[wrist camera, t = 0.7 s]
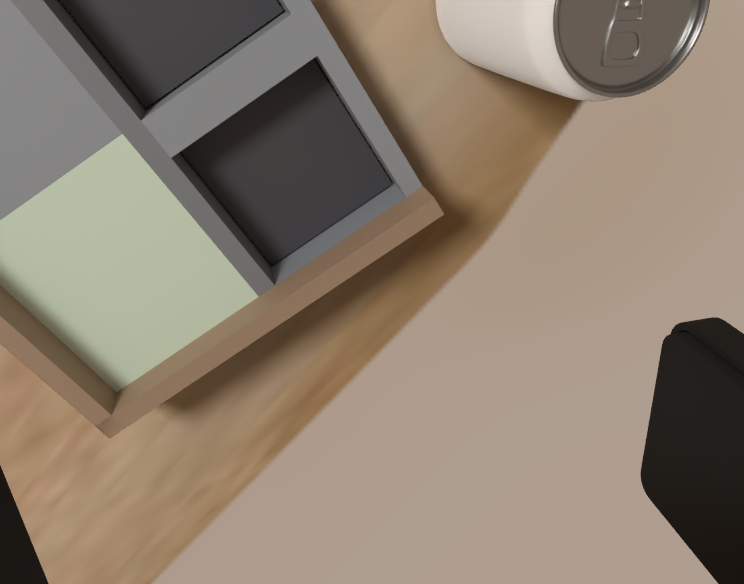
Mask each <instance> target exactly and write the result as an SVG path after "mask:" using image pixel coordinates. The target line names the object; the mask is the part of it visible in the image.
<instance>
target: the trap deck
mask: <svg viewBox="0 0 744 584" xmlns="http://www.w3.org/2000/svg"><path fill="white" fill-rule="evenodd" d="M60 1H61V2H62V4H63V5H64V6H65V7H66V9H67V10H68V11H69V12H70V14H71V15H72V16H73V17H74V19H75V20H76V21H77V22H78V24H79V25H80V26H81V27H82V29H83V30H84V31H85V32H86V34H87V35H88V36H89V37H90V39H91V40H92V41H93V42H94V44H95V45H96V46H97V47H98V49H99V50H100V51H101V52H102V54H103V55H104V56H105V57H106V59H107V60H108V61H109V62H110V64H111V65H112V66H113V67H114V69H115V70H116V71H117V72H118V74H119V75H120V76H121V77H122V79H123V80H124V81H125V82H126V84H127V85H128V86H129V87H130V89H131V90H132V91H133V92H134V94H135V95H136V96H137V97H138V99H139V100H140V101H141V102H142V104H143V105H144V106H145V107H146V108H147V107H148V106H150V105H151V104H153V103H154V102H155V101H157V100H158V99H160V98H161V97H162V96H164V95H165V94H167V93H168V92H170V91H171V90H172V89H174V88H175V87H177V86H178V85H179V84H181V83H182V82H184V81H185V80H186V79H188V78H189V77H191V76H192V75H194V74H195V73H196V72H198V71H199V70H201V69H202V68H203V67H205V66H206V65H208V64H209V63H210V62H212V61H213V60H215V59H216V58H217V57H219V56H220V55H222V54H223V53H225V52H226V51H227V50H229V49H230V48H232V47H233V46H234V45H236V44H237V43H239V42H240V41H241V40H243V39H244V38H246V37H247V36H248V35H250V34H251V33H253V32H254V31H256V30H257V29H258V28H260V27H261V26H263V25H264V24H265V23H267V22H268V21H270V20H271V19H272V18H274V17H275V16H277V15H278V14H280V13H281V12H282V11H283V10H282V8H281V7H280V5H279V3H278V2H277V0H60ZM279 1H280V3H281V4H282V6H283V8H284V9H285V11H286V12H284V13H283V14H281V15H280V16H279V17H277V18H276V19H274V20H273V21H272V22H270V23H269V24H267V25H266V26H265V27H263V28H262V29H260V30H259V31H257V32H256V33H255V34H253V35H252V36H250V37H249V38H248V39H246V40H245V41H243V42H242V43H241V44H239V45H238V46H236V47H235V48H234V49H232V50H231V51H229V52H228V53H226V54H225V55H224V56H222V57H221V58H219V59H218V60H217V61H215V62H214V63H212V64H211V65H210V66H208V67H207V68H205V69H204V70H202V71H201V72H200V73H198V74H197V75H195V76H194V77H193V78H191V79H190V80H188V81H187V82H186V83H184V84H183V85H181V86H180V87H178V88H177V89H176V90H174V91H173V92H171V93H170V94H169V95H167V96H166V97H164V98H163V99H162V100H160V101H159V102H157V103H156V104H155V105H153V106H152V107H150V108H149V109H147V110H145V108H144V107H143V106H142V105H141V103H140V102H139V101H138V100H137V98H136V97H135V96H134V95H133V93H132V92H131V91H130V90H129V88H128V87H127V86H126V85H125V83H124V82H123V81H122V80H121V78H120V77H119V76H118V75H117V73H116V72H115V71H114V70H113V68H112V67H111V66H110V65H109V63H108V62H107V61H106V60H105V58H104V57H103V56H102V55H101V53H100V52H99V51H98V50H97V48H96V47H95V46H94V45H93V43H92V42H91V41H90V40H89V38H88V37H87V36H86V35H85V33H84V32H83V31H82V30H81V28H80V27H79V26H78V25H77V23H76V22H75V21H74V20H73V18H72V17H71V16H70V15H69V13H68V12H67V11H66V10H65V8H64V7H63V6H62V5H61V3H60V2H59V1H58V0H0V344H1V345H2V346H4V347H5V348H6V349H7V350H8V351H9V352H10V353H12V354H13V355H14V356H15V357H16V358H17V359H19V360H20V361H21V362H22V363H23V364H24V365H25V366H27V367H28V368H29V369H30V370H31V371H32V372H33V373H35V374H36V375H37V376H38V377H39V378H40V379H42V380H43V381H44V382H45V383H46V384H47V385H48V386H50V387H51V388H52V389H53V390H54V391H55V392H57V393H58V394H59V395H60V396H61V397H62V398H63V399H65V400H66V401H67V402H68V403H69V404H70V405H71V406H73V407H74V408H75V409H76V410H77V411H78V412H80V413H81V414H82V415H83V416H84V417H85V418H86V419H88V420H89V421H90V422H91V423H92V424H93V425H94V426H96V427H97V428H98V429H99V430H100V431H101V432H103V433H104V434H105V435H106V436H107V437H108V438H111V437H112V436H114V435H115V434H117V433H118V432H120V431H121V430H123V429H124V428H126V427H127V426H129V425H130V424H132V423H133V422H135V421H136V420H138V419H139V418H141V417H142V416H144V415H145V414H147V413H148V412H150V411H151V410H153V409H154V408H156V407H157V406H159V405H160V404H162V403H163V402H165V401H166V400H168V399H169V398H171V397H172V396H174V395H175V394H177V393H178V392H180V391H181V390H183V389H184V388H186V387H187V386H189V385H190V384H192V383H193V382H195V381H196V380H198V379H199V378H201V377H202V376H204V375H205V374H207V373H208V372H210V371H211V370H213V369H214V368H216V367H217V366H219V365H220V364H222V363H223V362H225V361H226V360H228V359H229V358H231V357H232V356H233V355H235V354H236V353H238V352H239V351H241V350H242V349H244V348H245V347H247V346H248V345H250V344H251V343H253V342H254V341H256V340H257V339H259V338H260V337H262V336H263V335H265V334H266V333H268V332H269V331H271V330H272V329H274V328H275V327H277V326H278V325H280V324H281V323H283V322H284V321H286V320H287V319H289V318H290V317H292V316H293V315H295V314H296V313H298V312H299V311H301V310H302V309H304V308H305V307H307V306H308V305H310V304H311V303H313V302H314V301H316V300H317V299H319V298H320V297H322V296H323V295H325V294H326V293H328V292H329V291H331V290H332V289H334V288H335V287H337V286H338V285H340V284H341V283H343V282H344V281H346V280H347V279H349V278H350V277H352V276H353V275H355V274H356V273H358V272H359V271H361V270H362V269H364V268H365V267H366V266H368V265H369V264H371V263H372V262H374V261H375V260H377V259H378V258H380V257H381V256H383V255H384V254H386V253H387V252H389V251H390V250H392V249H393V248H395V247H396V246H398V245H399V244H401V243H402V242H404V241H405V240H407V239H408V238H410V237H411V236H413V235H414V234H416V233H417V232H419V231H420V230H422V229H423V228H425V227H426V226H428V225H429V224H431V223H432V222H434V221H435V220H437V219H438V218H440V217H441V216H443V215H444V213H443V211H442V210H441V208H440V206H439V205H438V203H437V201H436V200H435V198H434V197H433V196H432V195H431V194H430V193H429V192H428V191H427V190H426V189H425V188H424V187H423V186H422V184H421V182H420V181H419V179H418V177H417V176H416V174H415V172H414V171H413V169H412V167H411V166H410V164H409V162H408V161H407V159H406V157H405V156H404V154H403V153H402V151H401V149H400V148H399V146H398V144H397V143H396V141H395V139H394V138H393V136H392V134H391V133H390V131H389V129H388V128H387V126H386V124H385V123H384V121H383V119H382V118H381V116H380V115H379V113H378V111H377V110H376V108H375V106H374V105H373V103H372V101H371V100H370V98H369V96H368V95H367V93H366V91H365V90H364V88H363V86H362V85H361V83H360V81H359V80H358V78H357V77H356V75H355V73H354V72H353V70H352V68H351V67H350V65H349V63H348V62H347V60H346V58H345V57H344V55H343V53H342V52H341V50H340V48H339V47H338V45H337V43H336V42H335V40H334V39H333V37H332V35H331V34H330V32H329V30H328V29H327V27H326V25H325V24H324V22H323V20H322V19H321V17H320V15H319V14H318V12H317V10H316V9H315V7H314V5H313V4H312V2H311V1H310V0H279ZM313 58H316V60H317V62H318V63H319V65H320V66H321V68H322V70H323V71H324V73H325V74H326V76H327V78H328V79H329V81H330V82H331V84H332V85H333V87H334V89H335V90H336V92H337V93H338V95H339V97H340V98H341V100H342V101H343V103H344V105H345V106H346V108H347V109H348V111H349V112H350V114H351V116H352V117H353V119H354V120H355V122H356V124H357V125H358V127H359V128H360V130H361V132H362V133H363V135H364V136H365V138H366V139H367V141H368V143H369V144H370V146H371V147H372V149H373V151H374V152H375V154H376V155H377V157H378V159H379V160H380V162H381V163H382V165H383V166H384V168H385V170H386V171H387V173H388V174H389V176H390V178H391V179H392V181H393V182H394V184H392V182H391V181H390V179H389V178H388V176H387V174H386V173H385V171H384V170H383V168H382V167H381V165H380V163H379V162H378V160H377V159H376V157H375V155H374V154H373V152H372V151H371V149H370V148H369V146H368V144H367V143H366V141H365V140H364V138H363V136H362V135H361V133H360V132H359V130H358V129H357V127H356V125H355V124H354V122H353V121H352V119H351V117H350V116H349V114H348V113H347V111H346V110H345V108H344V106H343V105H342V103H341V102H340V100H339V98H338V97H337V95H336V94H335V92H334V91H333V89H332V87H331V86H330V84H329V83H328V81H327V79H326V78H325V76H324V75H323V73H322V72H321V70H320V68H319V67H318V65H317V64H316V62H315V60H314V59H313ZM180 151H181V153H182V154H183V155H184V156H185V158H186V159H187V160H188V161H189V163H190V164H191V165H192V166H193V168H194V169H195V170H196V171H197V173H198V174H199V175H200V176H201V178H202V179H203V180H204V181H205V183H206V184H207V185H208V186H209V188H210V189H211V190H212V191H213V193H214V194H215V195H216V196H217V198H218V199H219V200H220V201H221V203H222V204H223V205H224V206H225V208H226V209H227V210H228V211H229V213H230V214H231V215H232V216H233V218H234V219H235V220H236V221H237V223H238V224H239V225H240V226H241V228H242V229H243V230H244V231H245V233H246V234H247V235H248V236H249V238H250V239H251V240H252V241H253V243H254V244H255V245H256V246H257V248H258V249H259V250H260V251H261V253H262V254H263V255H264V256H265V258H266V259H267V260H268V261H269V263H270V264H271V265H273V264H274V265H273V266H270V264H269V263H268V262H267V261H266V259H265V258H264V257H263V256H262V254H261V253H260V252H259V251H258V249H257V248H256V247H255V246H254V244H253V243H252V242H251V241H250V239H249V238H248V237H247V236H246V234H245V233H244V232H243V231H242V229H241V228H240V227H239V226H238V224H237V223H236V222H235V221H234V219H233V218H232V217H231V216H230V214H229V213H228V212H227V211H226V209H225V208H224V207H223V206H222V205H221V203H220V202H219V201H218V200H217V198H216V197H215V196H214V195H213V193H212V192H211V191H210V190H209V188H208V187H207V186H206V185H205V183H204V182H203V181H202V180H201V178H200V177H199V176H198V175H197V173H196V172H195V171H194V170H193V168H192V167H191V166H190V165H189V163H188V162H187V161H186V160H185V158H184V157H183V156H182V155H181V153H180ZM390 185H391V186H390ZM387 187H388V188H387ZM384 189H385V190H384ZM381 191H382V192H381ZM378 193H379V194H378ZM377 194H378V195H377ZM375 195H376V196H375ZM374 196H375V197H374ZM372 197H373V198H372ZM371 198H372V199H371ZM369 199H370V200H369ZM368 200H369V201H368ZM366 201H367V202H366ZM365 202H366V203H365ZM362 204H363V205H362ZM359 206H360V207H359ZM356 208H357V209H356ZM353 210H354V211H353ZM350 212H351V213H350ZM347 214H348V215H347ZM346 215H347V216H346ZM344 216H345V217H344ZM343 217H344V218H343ZM341 218H342V219H341ZM340 219H341V220H340ZM338 220H339V221H338ZM337 221H338V222H337ZM335 222H336V223H335ZM334 223H335V224H334ZM331 225H332V226H331ZM328 227H329V228H328ZM325 229H326V230H325ZM322 231H323V232H322ZM319 233H320V234H319ZM316 235H317V236H316ZM315 236H316V237H315ZM313 237H314V238H313ZM312 238H313V239H312ZM310 239H311V240H310ZM309 240H310V241H309ZM307 241H308V242H307ZM306 242H307V243H306ZM304 243H305V244H304ZM303 244H304V245H303ZM300 246H301V247H300ZM297 248H298V249H297ZM294 250H295V251H294ZM291 252H292V253H291ZM288 254H289V255H288ZM285 256H286V257H285ZM284 257H285V258H284ZM282 258H283V259H282ZM281 259H282V260H281ZM279 260H280V261H279ZM278 261H279V262H278ZM276 262H277V263H276ZM275 263H276V264H275Z"/></svg>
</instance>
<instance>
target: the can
mask: <svg viewBox="0 0 744 584" xmlns="http://www.w3.org/2000/svg"><path fill="white" fill-rule="evenodd" d="M709 2H710V0H436V11H437V18H438V22H439V25H440V28H441V31H442V33H443V36H444V37H445V39H446V41H447V42H448V44H449V45H450V47H451V48H452V49H453V50H454V51H455V52H456V53H457V54H458V55H459V56H460V57H462V58H463V59H465V60H466V61H468V62H470V63H472V64H474V65H476V66H479V67H481V68H484V69H487V70H489V71H492V72H495V73H498V74H500V75H503V76H506V77H509V78H512V79H515V80H517V81H520V82H523V83H526V84H529V85H532V86H535V87H537V88H540V89H543V90H546V91H549V92H552V93H555V94H558V95H561V96H564V97H568V98H572V99H576V100H582V101H603V100H609V99H613V98H616V97H627V96H633V95H636V94H640V93H642V92H645V91H647V90H649V89H651V88H653V87H655V86H656V85H658V84H660V83H661V82H662V81H664V80H665V79H666V78H668V77H669V76H670V75H671V74H672V73H673V72H674V71H675V70H676V69H677V68H678V67H679V66H680V65H681V64H682V63H683V62H684V60H685V59H686V58H687V56H688V55H689V54H690V52H691V50H692V49H693V47H694V46H695V44H696V41H697V40H698V38H699V36H700V33H701V31H702V29H703V26H704V23H705V20H706V16H707V13H708V8H709Z"/></svg>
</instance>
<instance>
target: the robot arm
mask: <svg viewBox="0 0 744 584" xmlns="http://www.w3.org/2000/svg"><path fill="white" fill-rule="evenodd" d="M641 481H642V485H643V488H644V490H645V492H646V494H647V496H648V497H649V498H650V500H651V501H652V502H653V504H654V505H655V506H656V507H657V508H658V510H659V511H660V512H661V513H662V515H663V516H664V517H665V518H666V520H667V521H668V522H669V523H670V525H671V526H672V527H673V528H674V529H675V531H676V532H677V533H678V534H679V536H680V537H681V538H682V539H683V540H684V542H685V543H686V544H687V545H688V547H689V548H690V549H691V550H692V552H693V553H694V554H695V555H696V556H697V558H698V559H699V560H700V562H701V563H702V564H703V565H704V566H705V568H706V569H707V570H708V571H709V573H710V574H711V575H712V576H713V578H714V579H715V580H716V581H717V582H718V584H744V334H743V333H741V332H740V331H739V330H737V329H736V328H734V327H733V326H731V325H730V324H729V323H727V322H726V321H724V320H722V319H720V318H706V319H701V320H694V321H689V322H683V323H679V324H677V325H676V326H675V327H674V328H673V329H672V332H671V334H670V335H668V336H666V337H665V339H664V341H663V344H662V349H661V355H660V361H659V367H658V373H657V379H656V384H655V391H654V396H653V402H652V408H651V414H650V420H649V426H648V432H647V438H646V444H645V449H644V455H643V461H642V468H641ZM0 584H48V581H47V579H46V576H45V574H44V572H43V569H42V567H41V564H40V562H39V559H38V557H37V554H36V552H35V549H34V547H33V545H32V542H31V540H30V537H29V535H28V532H27V530H26V527H25V525H24V523H23V520H22V518H21V515H20V513H19V510H18V508H17V505H16V503H15V500H14V498H13V496H12V493H11V491H10V488H9V486H8V483H7V481H6V478H5V476H4V473H3V471H2V469H1V466H0Z"/></svg>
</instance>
